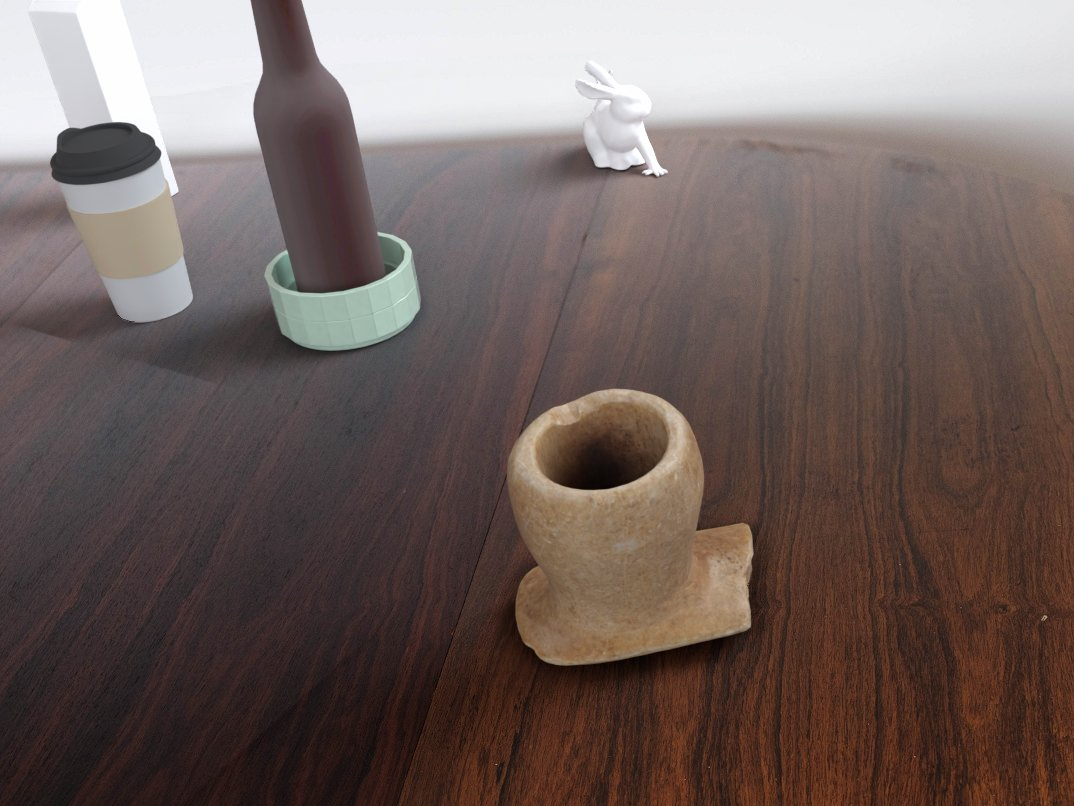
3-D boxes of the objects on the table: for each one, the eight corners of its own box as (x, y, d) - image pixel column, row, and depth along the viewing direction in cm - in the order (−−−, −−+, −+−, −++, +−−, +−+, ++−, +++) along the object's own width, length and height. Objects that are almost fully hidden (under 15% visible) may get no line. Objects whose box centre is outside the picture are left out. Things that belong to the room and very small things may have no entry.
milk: (135, 187, 138) (57, -47, 122) (180, 192, 135) (107, -46, 120) (97, 210, 134) (12, -29, 118) (143, 216, 131) (63, -27, 116)
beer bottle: (362, 283, 114) (274, -111, 94) (409, 309, 110) (328, -99, 89) (288, 314, 111) (180, -87, 91) (334, 342, 107) (232, -73, 86)
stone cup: (530, 713, 73) (493, 491, 63) (511, 587, 82) (475, 373, 72) (792, 671, 74) (797, 444, 64) (746, 550, 83) (743, 333, 72)
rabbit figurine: (669, 175, 128) (664, 71, 121) (597, 191, 126) (588, 87, 120) (626, 137, 136) (620, 37, 129) (559, 152, 135) (548, 51, 128)
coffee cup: (223, 283, 118) (171, 112, 108) (174, 330, 112) (114, 154, 102) (137, 279, 120) (78, 111, 110) (85, 325, 114) (17, 152, 104)
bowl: (250, 336, 110) (234, 280, 107) (344, 276, 117) (331, 222, 114) (359, 365, 105) (345, 307, 101) (450, 300, 112) (440, 244, 108)
